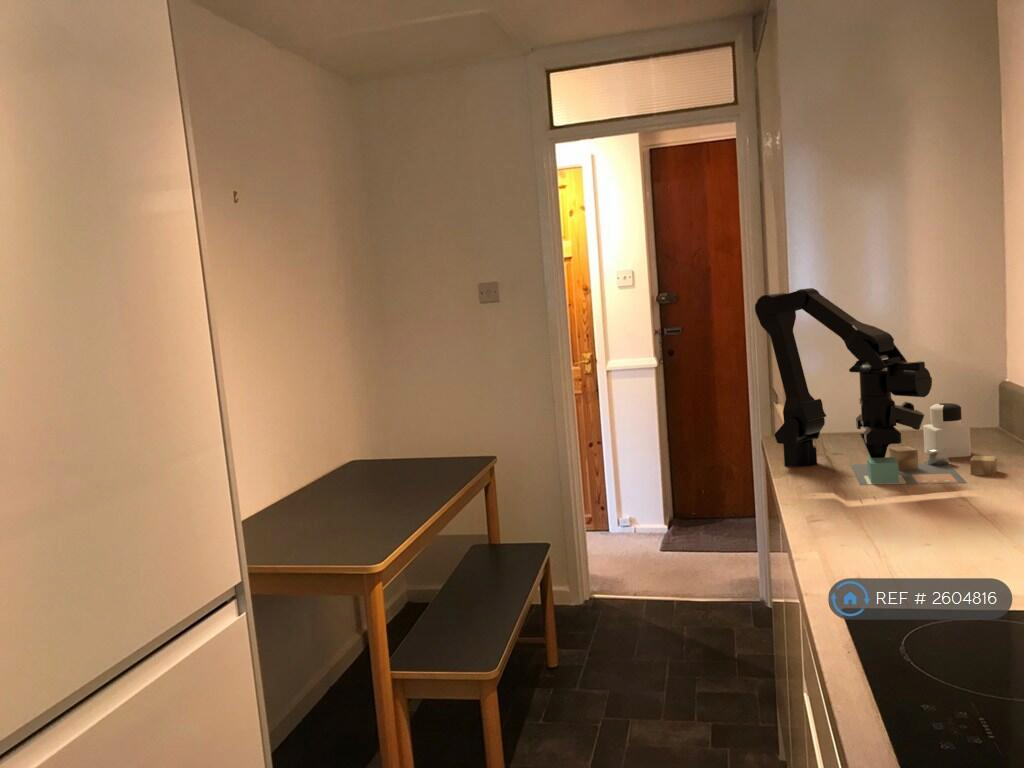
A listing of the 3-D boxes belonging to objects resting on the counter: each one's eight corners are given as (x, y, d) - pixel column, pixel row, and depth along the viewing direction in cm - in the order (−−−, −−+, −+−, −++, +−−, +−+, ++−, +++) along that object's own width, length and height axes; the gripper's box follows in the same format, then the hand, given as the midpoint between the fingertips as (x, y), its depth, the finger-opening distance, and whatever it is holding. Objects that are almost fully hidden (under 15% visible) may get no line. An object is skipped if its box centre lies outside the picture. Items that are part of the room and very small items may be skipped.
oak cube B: (970, 459, 164) (993, 460, 162) (973, 455, 168) (996, 456, 165) (970, 479, 165) (994, 481, 162) (973, 475, 168) (996, 476, 166)
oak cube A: (898, 470, 173) (898, 451, 172) (890, 466, 177) (889, 447, 176) (918, 468, 173) (917, 449, 172) (909, 464, 177) (908, 446, 176)
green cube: (871, 483, 165) (870, 463, 164) (868, 477, 170) (867, 457, 169) (898, 482, 163) (898, 462, 163) (894, 476, 168) (894, 457, 168)
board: (860, 490, 164) (859, 484, 164) (850, 469, 182) (850, 464, 181) (967, 488, 159) (967, 482, 159) (947, 466, 176) (947, 461, 176)
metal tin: (929, 466, 174) (929, 452, 173) (925, 461, 178) (925, 448, 177) (950, 465, 173) (950, 451, 172) (946, 461, 176) (946, 447, 176)
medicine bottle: (957, 453, 186) (955, 400, 185) (971, 460, 179) (969, 405, 178) (923, 456, 187) (921, 403, 186) (936, 462, 180) (934, 408, 179)
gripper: (928, 399, 157) (931, 480, 159) (911, 385, 175) (914, 458, 177) (865, 402, 161) (868, 481, 162) (854, 388, 178) (857, 459, 180)
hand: (879, 469), depth 170 cm, fingers closed
